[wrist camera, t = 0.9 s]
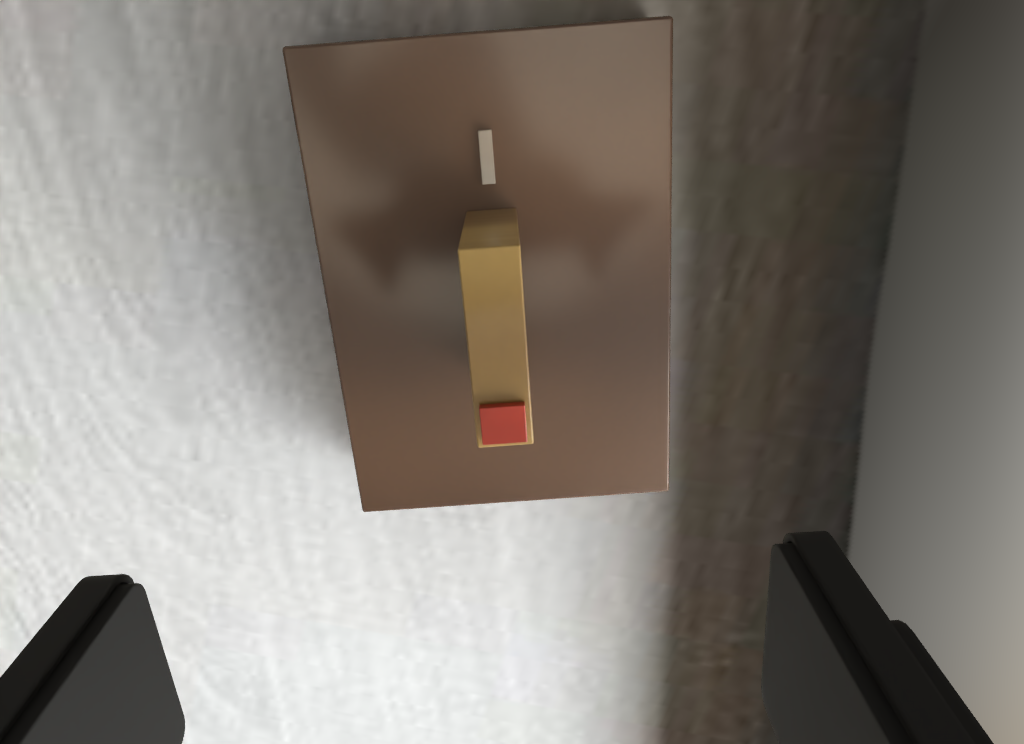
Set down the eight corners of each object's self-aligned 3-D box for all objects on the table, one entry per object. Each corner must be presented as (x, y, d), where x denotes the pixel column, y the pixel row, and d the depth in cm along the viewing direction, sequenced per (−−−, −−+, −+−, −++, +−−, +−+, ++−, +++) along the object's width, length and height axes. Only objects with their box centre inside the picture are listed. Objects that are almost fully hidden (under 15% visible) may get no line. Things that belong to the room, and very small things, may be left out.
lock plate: (308, 48, 22) (279, 46, 19) (651, 21, 22) (675, 15, 19) (376, 467, 27) (361, 515, 24) (652, 447, 27) (670, 494, 24)
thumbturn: (466, 211, 21) (456, 251, 16) (516, 207, 21) (520, 247, 16) (481, 377, 23) (477, 453, 18) (528, 373, 23) (534, 449, 18)
